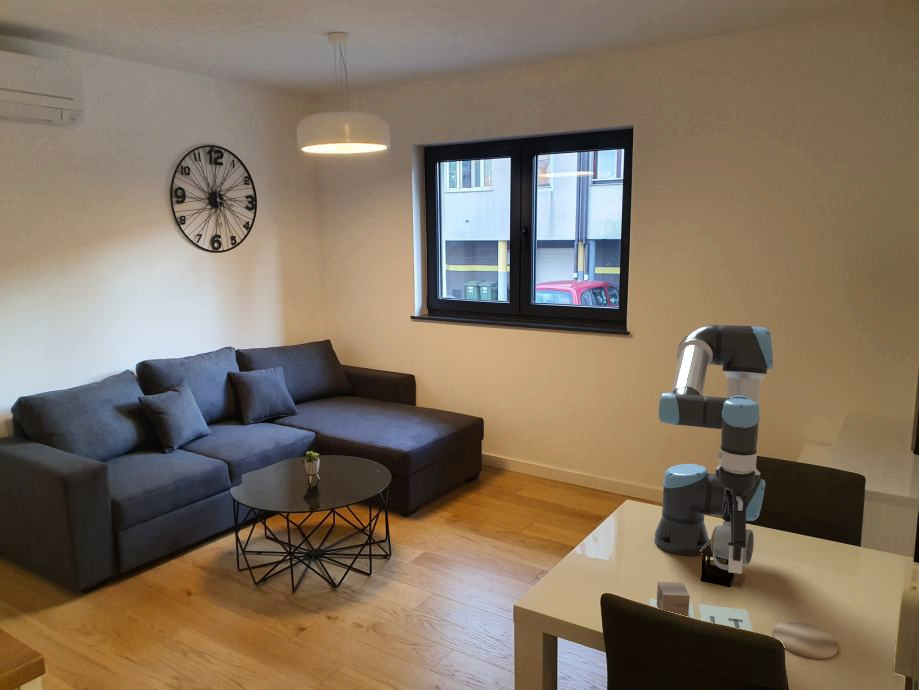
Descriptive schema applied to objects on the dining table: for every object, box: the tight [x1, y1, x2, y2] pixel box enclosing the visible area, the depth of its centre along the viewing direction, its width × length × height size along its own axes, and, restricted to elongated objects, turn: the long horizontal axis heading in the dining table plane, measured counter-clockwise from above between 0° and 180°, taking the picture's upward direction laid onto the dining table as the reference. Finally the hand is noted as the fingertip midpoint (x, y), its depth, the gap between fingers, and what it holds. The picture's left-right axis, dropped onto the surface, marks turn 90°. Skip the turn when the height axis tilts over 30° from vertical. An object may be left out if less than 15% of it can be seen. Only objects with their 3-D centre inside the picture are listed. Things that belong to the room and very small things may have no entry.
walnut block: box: [656, 581, 690, 616], centre depth 161 cm, size 6×6×6 cm
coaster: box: [772, 621, 839, 660], centre depth 150 cm, size 13×13×1 cm
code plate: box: [698, 603, 755, 633], centre depth 157 cm, size 14×11×1 cm
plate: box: [649, 597, 696, 619], centre depth 162 cm, size 10×10×1 cm
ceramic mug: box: [710, 525, 755, 571], centre depth 154 cm, size 11×8×8 cm
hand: (730, 559), depth 154 cm, fingers closed on ceramic mug, 11 cm apart
